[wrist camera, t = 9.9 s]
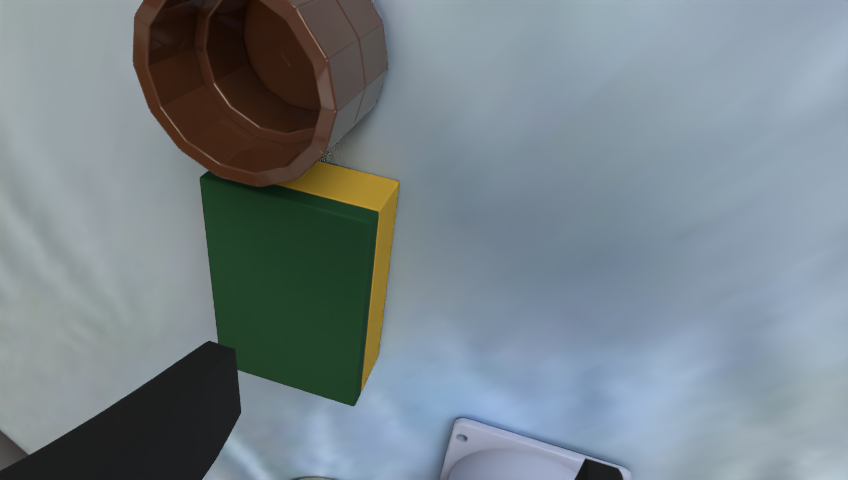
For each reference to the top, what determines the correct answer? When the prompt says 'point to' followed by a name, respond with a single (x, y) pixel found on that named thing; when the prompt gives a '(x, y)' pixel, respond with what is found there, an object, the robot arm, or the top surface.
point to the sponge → (302, 275)
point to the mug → (314, 478)
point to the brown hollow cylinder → (259, 79)
